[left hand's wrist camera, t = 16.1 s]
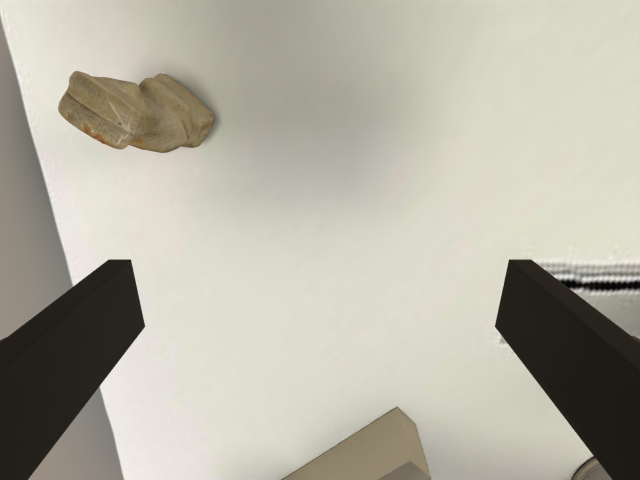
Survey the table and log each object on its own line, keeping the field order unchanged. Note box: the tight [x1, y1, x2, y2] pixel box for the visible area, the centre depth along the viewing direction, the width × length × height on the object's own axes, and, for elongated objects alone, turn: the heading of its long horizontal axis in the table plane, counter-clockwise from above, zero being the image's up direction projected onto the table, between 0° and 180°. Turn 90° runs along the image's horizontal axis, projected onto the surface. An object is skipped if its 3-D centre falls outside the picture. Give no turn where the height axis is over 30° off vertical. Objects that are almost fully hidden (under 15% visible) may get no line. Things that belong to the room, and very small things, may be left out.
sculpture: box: [58, 71, 215, 153], centre depth 31 cm, size 6×7×15 cm
